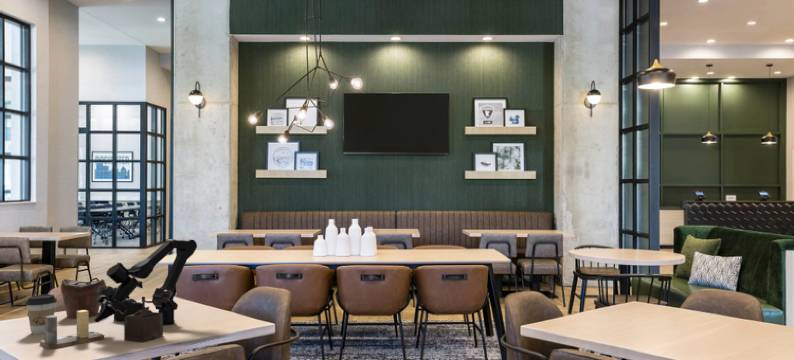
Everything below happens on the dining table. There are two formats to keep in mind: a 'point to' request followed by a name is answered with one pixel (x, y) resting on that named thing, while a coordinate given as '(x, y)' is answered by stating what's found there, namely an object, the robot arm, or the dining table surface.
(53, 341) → the gauge board
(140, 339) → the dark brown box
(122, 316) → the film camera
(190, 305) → the dining table surface
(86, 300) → the brown wicker basket
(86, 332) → the leg
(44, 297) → the coffee cup
